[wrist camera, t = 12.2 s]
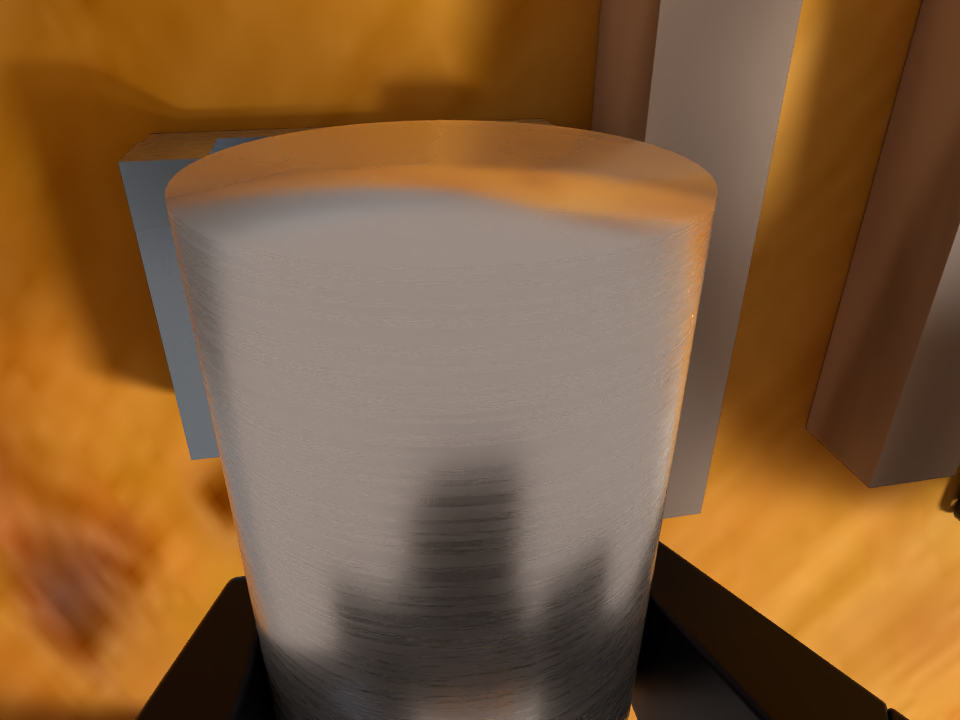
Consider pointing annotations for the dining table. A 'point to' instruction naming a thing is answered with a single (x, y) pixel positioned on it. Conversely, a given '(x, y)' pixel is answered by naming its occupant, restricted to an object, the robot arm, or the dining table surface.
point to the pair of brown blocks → (741, 185)
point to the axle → (445, 404)
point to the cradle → (145, 193)
